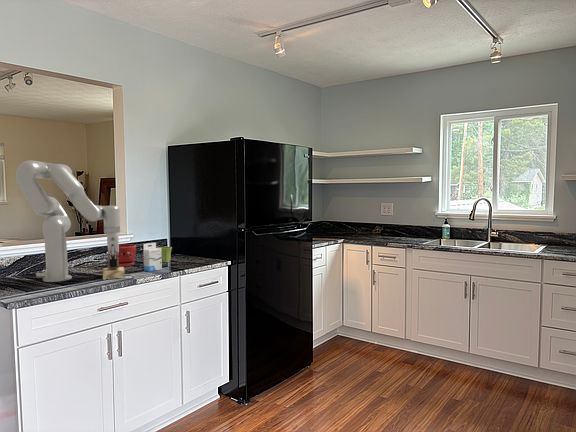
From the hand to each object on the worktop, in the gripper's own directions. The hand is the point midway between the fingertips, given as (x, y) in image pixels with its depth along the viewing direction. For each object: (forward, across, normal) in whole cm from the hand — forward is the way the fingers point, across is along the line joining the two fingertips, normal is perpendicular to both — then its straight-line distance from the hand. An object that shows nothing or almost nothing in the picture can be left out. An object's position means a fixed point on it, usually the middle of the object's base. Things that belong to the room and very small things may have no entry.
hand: (113, 265), depth 221 cm
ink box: (+6, +11, -20) cm, 24 cm away
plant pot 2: (+6, +36, -29) cm, 47 cm away
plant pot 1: (+6, +32, -6) cm, 33 cm away
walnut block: (+1, 0, 0) cm, 1 cm away
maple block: (+6, 0, 0) cm, 6 cm away
